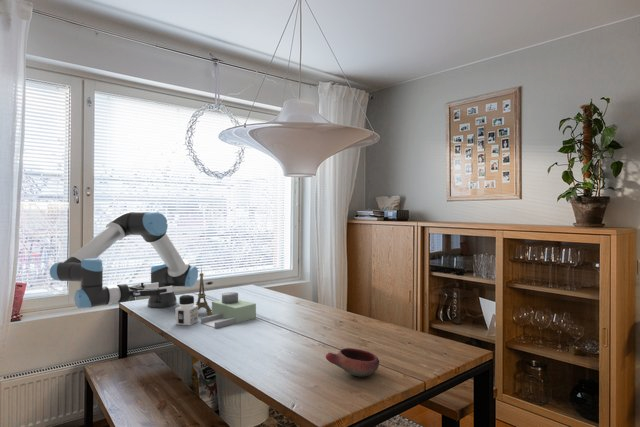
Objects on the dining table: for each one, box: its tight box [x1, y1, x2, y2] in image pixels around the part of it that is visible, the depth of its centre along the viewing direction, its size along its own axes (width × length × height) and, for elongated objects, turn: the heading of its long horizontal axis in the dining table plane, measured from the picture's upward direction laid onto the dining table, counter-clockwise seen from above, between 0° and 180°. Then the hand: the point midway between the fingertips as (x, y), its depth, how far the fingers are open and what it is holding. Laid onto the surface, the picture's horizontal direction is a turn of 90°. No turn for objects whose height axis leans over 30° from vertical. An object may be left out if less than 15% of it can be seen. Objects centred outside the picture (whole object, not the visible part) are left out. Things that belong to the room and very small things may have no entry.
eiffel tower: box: [195, 265, 212, 316], centre depth 212 cm, size 11×11×25 cm
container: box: [174, 294, 199, 326], centre depth 195 cm, size 8×8×13 cm
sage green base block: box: [200, 291, 257, 329], centre depth 201 cm, size 20×23×11 cm
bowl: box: [325, 347, 380, 378], centre depth 133 cm, size 16×13×8 cm
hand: (165, 287), depth 190 cm, fingers open, 13 cm apart
